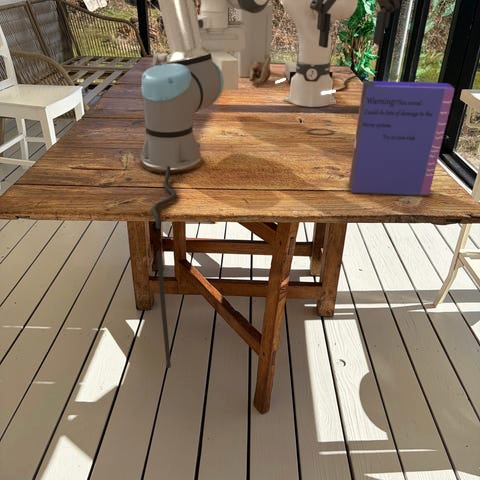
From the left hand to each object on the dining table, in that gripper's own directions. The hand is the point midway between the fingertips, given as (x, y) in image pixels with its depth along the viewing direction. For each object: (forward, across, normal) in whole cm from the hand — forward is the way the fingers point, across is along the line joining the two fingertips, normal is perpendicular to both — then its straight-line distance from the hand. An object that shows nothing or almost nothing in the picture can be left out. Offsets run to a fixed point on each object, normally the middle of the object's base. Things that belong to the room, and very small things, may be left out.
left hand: (350, 45), depth 105 cm
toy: (+30, +7, -131) cm, 135 cm away
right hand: (+15, +14, -61) cm, 64 cm away
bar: (+18, +14, -53) cm, 58 cm away
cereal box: (+30, -6, +14) cm, 33 cm away
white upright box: (+30, -20, -114) cm, 119 cm away
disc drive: (+30, -38, -96) cm, 107 cm away
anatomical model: (+30, -15, -93) cm, 99 cm away
